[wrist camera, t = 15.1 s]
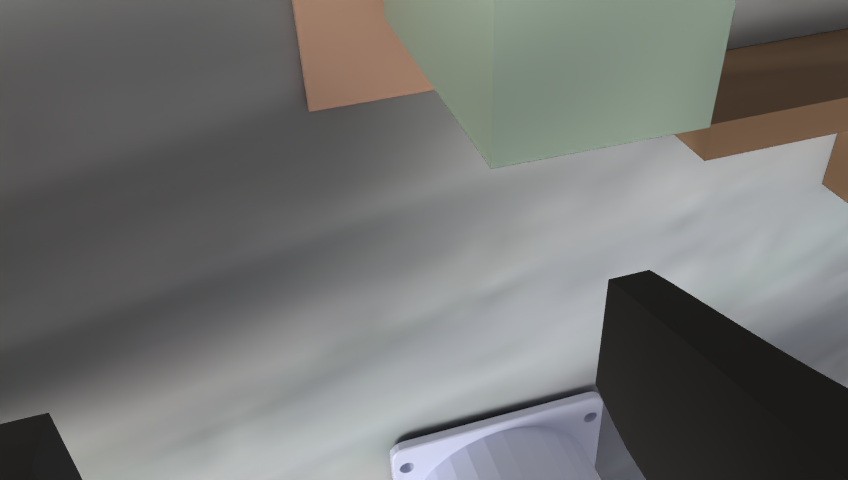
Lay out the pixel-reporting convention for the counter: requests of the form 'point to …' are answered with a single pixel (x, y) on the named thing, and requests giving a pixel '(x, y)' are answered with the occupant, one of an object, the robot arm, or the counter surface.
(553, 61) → the sage block
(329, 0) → the tile
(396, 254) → the counter surface
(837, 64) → the channel
